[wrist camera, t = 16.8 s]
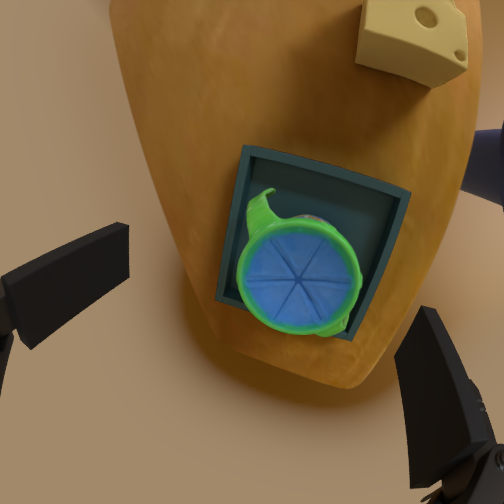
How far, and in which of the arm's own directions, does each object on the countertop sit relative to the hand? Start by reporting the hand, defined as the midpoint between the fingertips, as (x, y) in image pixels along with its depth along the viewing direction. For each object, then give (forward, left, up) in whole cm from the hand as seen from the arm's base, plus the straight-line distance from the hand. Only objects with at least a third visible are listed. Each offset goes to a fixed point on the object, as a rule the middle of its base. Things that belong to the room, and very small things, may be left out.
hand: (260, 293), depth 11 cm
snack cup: (-2, +5, -21) cm, 22 cm away
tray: (-2, +5, -22) cm, 23 cm away
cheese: (-7, -22, -22) cm, 32 cm away
